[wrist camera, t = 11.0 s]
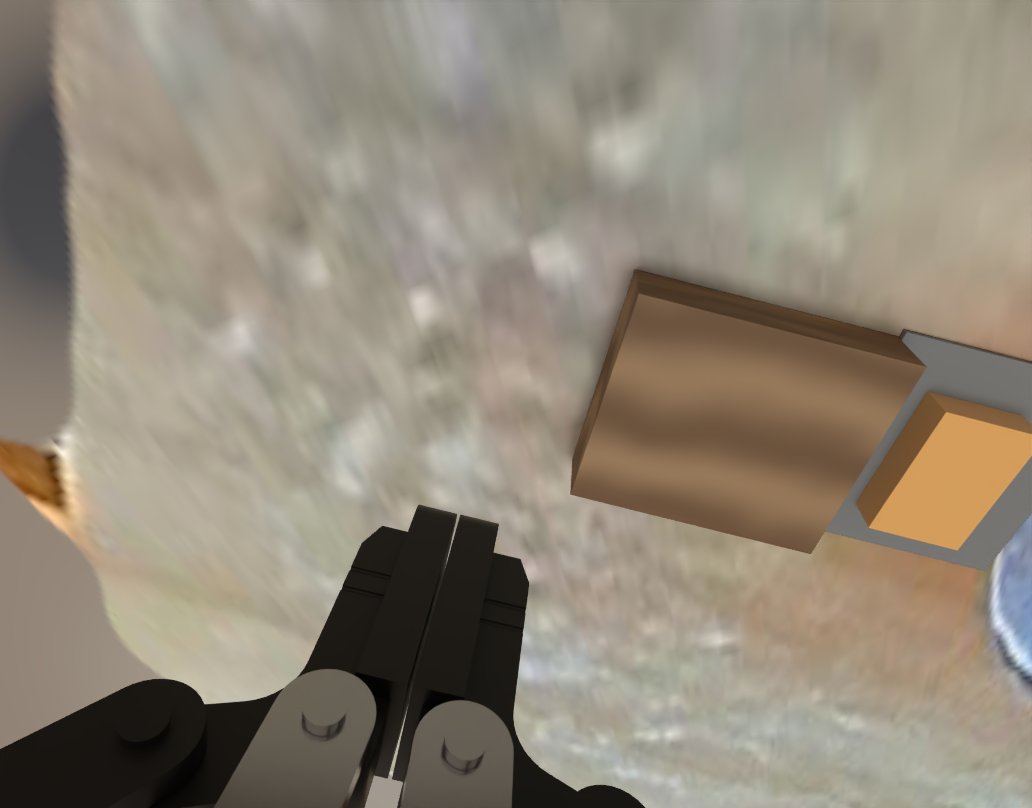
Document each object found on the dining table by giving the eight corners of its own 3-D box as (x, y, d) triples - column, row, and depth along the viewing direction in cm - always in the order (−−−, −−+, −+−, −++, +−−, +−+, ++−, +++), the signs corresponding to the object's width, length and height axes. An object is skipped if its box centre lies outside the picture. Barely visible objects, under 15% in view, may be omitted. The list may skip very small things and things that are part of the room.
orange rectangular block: (1045, 437, 38) (1021, 415, 40) (946, 412, 38) (927, 391, 40) (957, 550, 43) (940, 525, 45) (868, 527, 43) (855, 503, 45)
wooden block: (635, 269, 39) (639, 293, 35) (897, 336, 39) (926, 367, 36) (572, 458, 46) (570, 494, 42) (794, 514, 46) (810, 554, 43)
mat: (904, 329, 39) (906, 332, 38) (1128, 386, 39) (1133, 389, 39) (793, 520, 46) (794, 523, 46) (981, 566, 47) (984, 571, 46)
